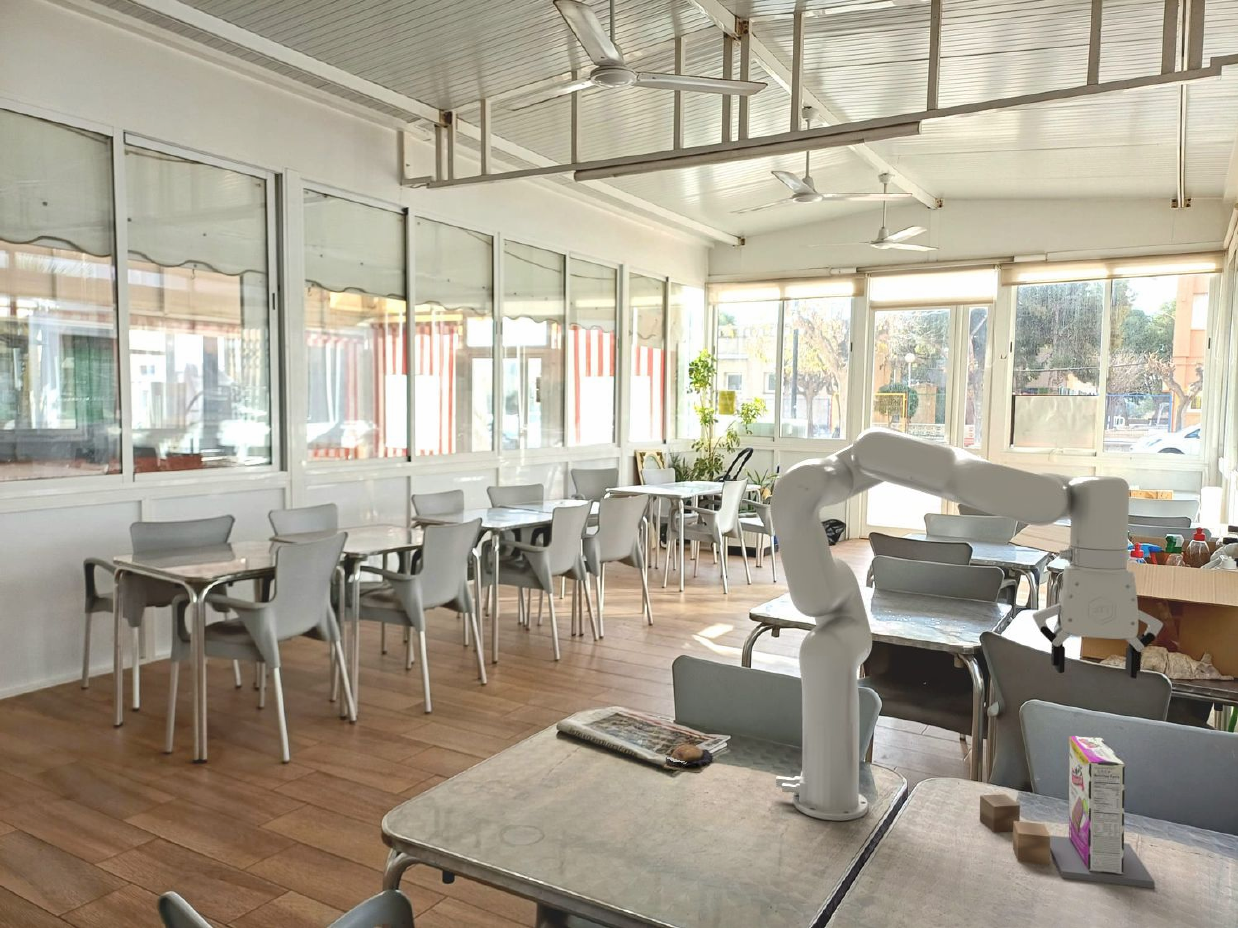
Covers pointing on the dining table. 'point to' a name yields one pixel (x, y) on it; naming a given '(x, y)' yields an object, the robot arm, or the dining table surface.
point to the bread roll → (689, 759)
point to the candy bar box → (1096, 804)
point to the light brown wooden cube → (1031, 842)
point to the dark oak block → (998, 812)
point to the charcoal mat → (1075, 868)
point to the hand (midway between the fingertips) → (1094, 673)
